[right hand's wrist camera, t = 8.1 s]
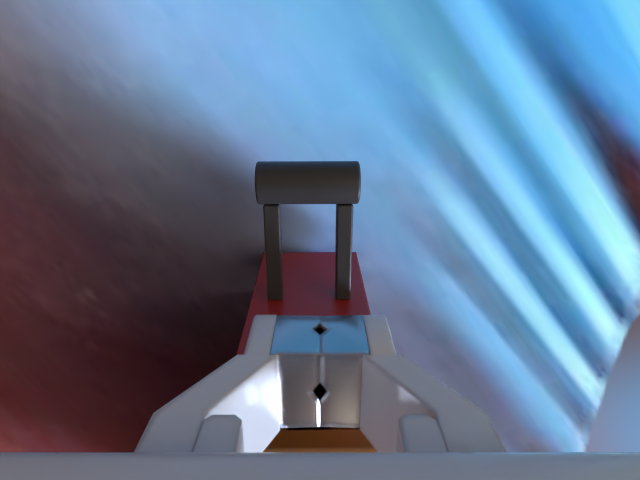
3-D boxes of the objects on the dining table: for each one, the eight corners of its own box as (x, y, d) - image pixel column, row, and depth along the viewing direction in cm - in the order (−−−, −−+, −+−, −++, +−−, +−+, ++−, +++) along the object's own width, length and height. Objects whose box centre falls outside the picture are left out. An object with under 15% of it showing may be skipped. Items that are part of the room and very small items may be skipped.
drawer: (258, 141, 20) (219, 193, 12) (359, 142, 20) (392, 192, 12) (275, 490, 28) (259, 668, 20) (348, 489, 28) (363, 667, 20)
